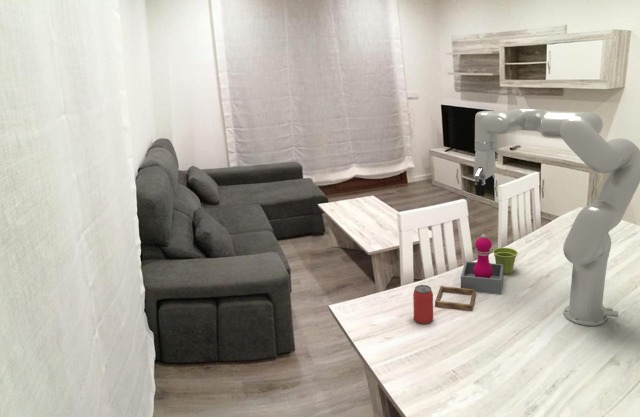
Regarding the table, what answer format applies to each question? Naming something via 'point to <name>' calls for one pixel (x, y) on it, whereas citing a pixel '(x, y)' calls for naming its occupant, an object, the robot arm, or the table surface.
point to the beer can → (423, 304)
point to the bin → (482, 279)
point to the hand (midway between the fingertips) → (485, 192)
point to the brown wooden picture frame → (455, 305)
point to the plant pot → (505, 258)
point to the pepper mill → (483, 258)
